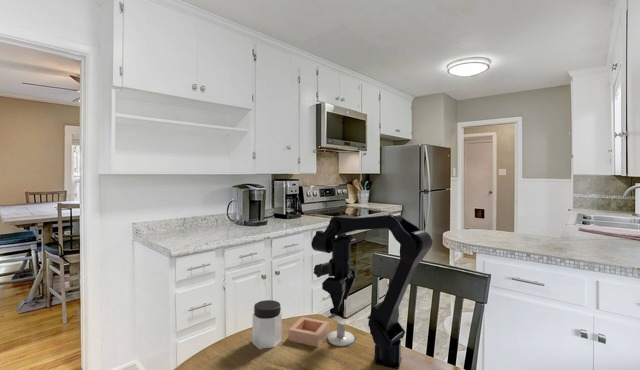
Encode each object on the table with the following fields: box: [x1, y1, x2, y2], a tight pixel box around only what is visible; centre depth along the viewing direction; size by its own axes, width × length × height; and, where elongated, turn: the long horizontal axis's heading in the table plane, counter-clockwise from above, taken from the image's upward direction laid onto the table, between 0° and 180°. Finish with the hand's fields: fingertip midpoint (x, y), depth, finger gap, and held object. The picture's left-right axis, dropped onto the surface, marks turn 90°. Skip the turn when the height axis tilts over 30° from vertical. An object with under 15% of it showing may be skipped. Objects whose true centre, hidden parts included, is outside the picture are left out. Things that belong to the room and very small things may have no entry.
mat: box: [323, 335, 358, 348], centre depth 101 cm, size 9×7×1 cm
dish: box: [288, 316, 330, 348], centre depth 103 cm, size 10×10×4 cm
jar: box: [251, 299, 283, 351], centre depth 99 cm, size 9×8×12 cm
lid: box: [327, 320, 355, 347], centre depth 101 cm, size 8×8×5 cm
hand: (340, 304), depth 101 cm, fingers open, 9 cm apart
